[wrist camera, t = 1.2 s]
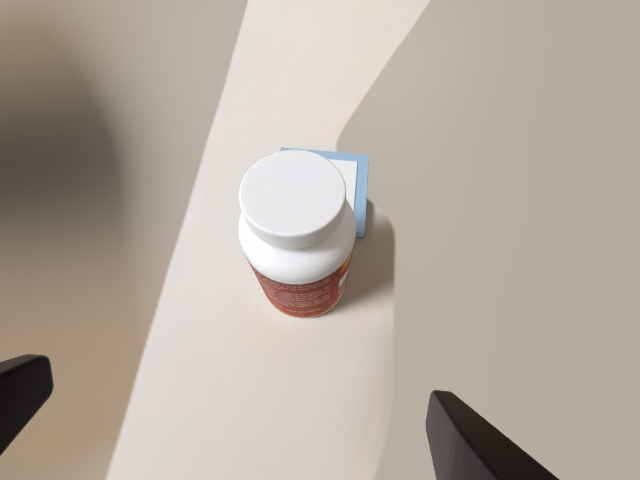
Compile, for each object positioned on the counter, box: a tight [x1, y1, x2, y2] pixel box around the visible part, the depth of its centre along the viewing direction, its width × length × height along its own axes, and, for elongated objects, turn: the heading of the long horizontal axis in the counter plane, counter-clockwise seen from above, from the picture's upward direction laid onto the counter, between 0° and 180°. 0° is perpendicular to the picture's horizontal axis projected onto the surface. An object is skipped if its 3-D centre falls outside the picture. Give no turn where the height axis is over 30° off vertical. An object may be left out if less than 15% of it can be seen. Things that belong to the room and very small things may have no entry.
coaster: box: [280, 148, 369, 237], centre depth 26 cm, size 8×8×1 cm
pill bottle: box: [239, 150, 356, 318], centre depth 18 cm, size 6×6×11 cm
